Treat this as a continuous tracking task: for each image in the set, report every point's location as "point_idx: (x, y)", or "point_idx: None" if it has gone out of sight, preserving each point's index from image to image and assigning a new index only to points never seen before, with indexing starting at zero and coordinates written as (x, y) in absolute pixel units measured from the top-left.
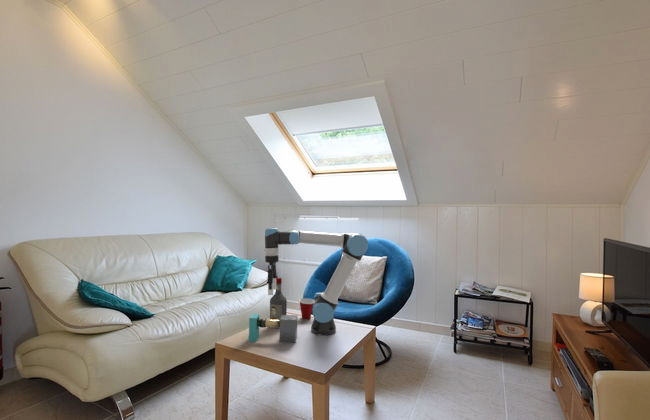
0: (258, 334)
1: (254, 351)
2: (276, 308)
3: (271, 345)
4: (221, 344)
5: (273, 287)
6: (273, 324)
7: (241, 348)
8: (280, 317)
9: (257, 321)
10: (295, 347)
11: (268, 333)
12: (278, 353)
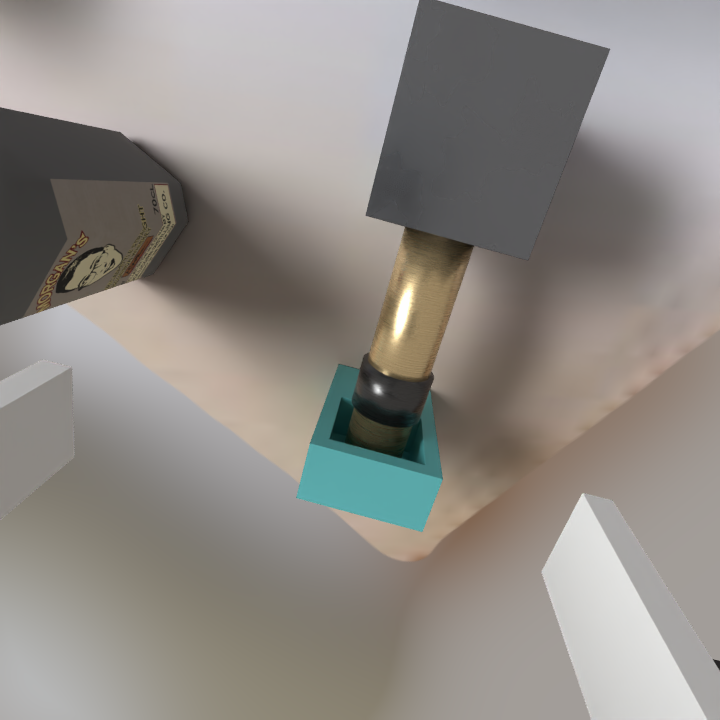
0: (355, 376)
1: (585, 408)
2: (87, 246)
3: (523, 297)
4: (423, 558)
5: (40, 448)
6: (453, 305)
7: (513, 471)
8: (142, 195)
9: (400, 443)
10: (623, 119)
11: (290, 296)
12: (681, 265)
